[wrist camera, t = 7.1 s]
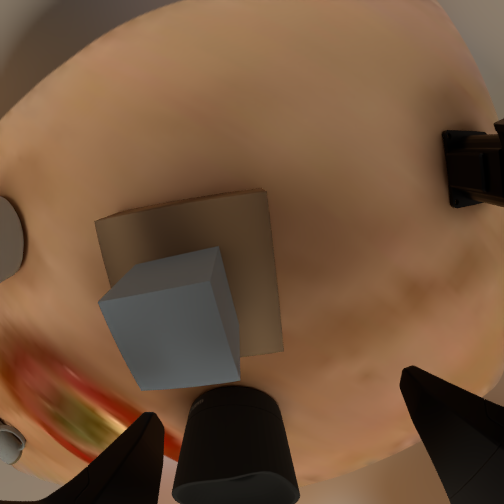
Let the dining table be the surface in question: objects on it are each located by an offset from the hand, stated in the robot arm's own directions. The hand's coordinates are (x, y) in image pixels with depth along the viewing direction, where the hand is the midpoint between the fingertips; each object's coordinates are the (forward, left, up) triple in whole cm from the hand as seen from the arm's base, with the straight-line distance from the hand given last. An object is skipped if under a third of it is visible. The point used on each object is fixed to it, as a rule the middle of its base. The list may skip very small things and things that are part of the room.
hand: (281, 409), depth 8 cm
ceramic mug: (+53, +23, -12) cm, 59 cm away
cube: (+4, -1, -8) cm, 9 cm away
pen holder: (+5, +13, -12) cm, 18 cm away
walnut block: (+4, -2, -12) cm, 13 cm away
